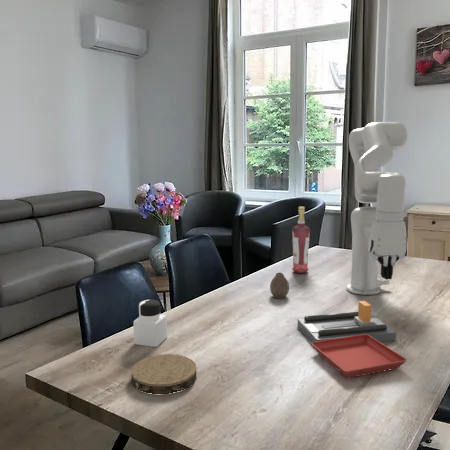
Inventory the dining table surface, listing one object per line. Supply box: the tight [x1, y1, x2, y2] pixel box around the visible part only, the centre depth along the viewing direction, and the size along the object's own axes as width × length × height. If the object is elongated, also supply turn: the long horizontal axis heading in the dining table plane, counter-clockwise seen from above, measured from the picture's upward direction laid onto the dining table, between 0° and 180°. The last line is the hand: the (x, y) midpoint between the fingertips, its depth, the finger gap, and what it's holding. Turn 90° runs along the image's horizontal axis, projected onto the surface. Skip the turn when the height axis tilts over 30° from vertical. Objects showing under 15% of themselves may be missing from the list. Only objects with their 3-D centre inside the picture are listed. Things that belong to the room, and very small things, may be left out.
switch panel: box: [297, 311, 397, 343], centre depth 150 cm, size 24×16×4 cm, turn 101°
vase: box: [269, 272, 290, 299], centre depth 182 cm, size 7×7×9 cm
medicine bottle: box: [132, 299, 168, 348], centre depth 145 cm, size 7×7×12 cm
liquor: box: [291, 206, 311, 275], centre depth 211 cm, size 7×7×28 cm
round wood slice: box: [130, 353, 198, 394], centre depth 124 cm, size 16×16×3 cm
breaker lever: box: [354, 300, 374, 326], centre depth 150 cm, size 4×5×6 cm
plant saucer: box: [310, 334, 407, 378], centre depth 132 cm, size 18×18×3 cm
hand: (386, 278), depth 149 cm, fingers closed
